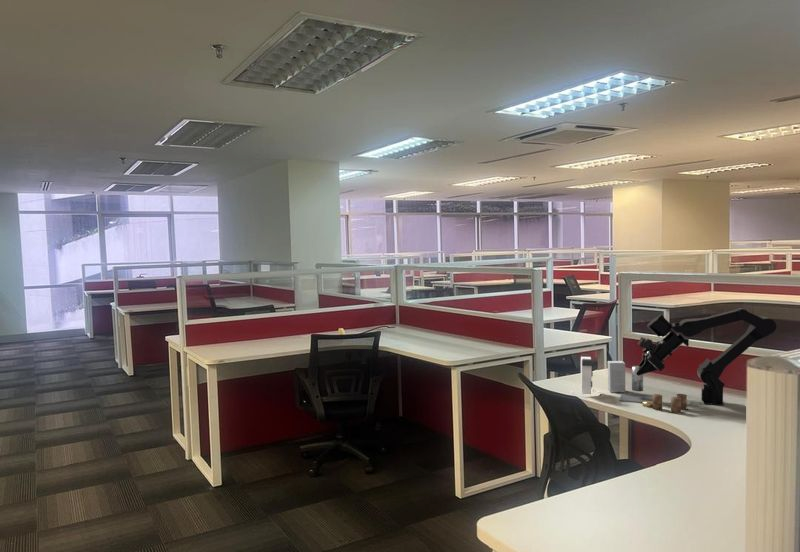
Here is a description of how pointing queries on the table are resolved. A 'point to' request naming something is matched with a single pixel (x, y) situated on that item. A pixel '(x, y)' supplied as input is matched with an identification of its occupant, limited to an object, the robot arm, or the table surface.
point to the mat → (635, 397)
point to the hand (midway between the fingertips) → (636, 373)
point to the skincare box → (616, 376)
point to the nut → (648, 403)
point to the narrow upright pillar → (586, 374)
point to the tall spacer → (637, 379)
